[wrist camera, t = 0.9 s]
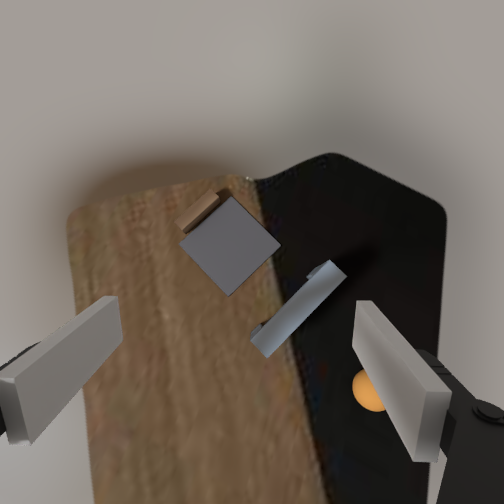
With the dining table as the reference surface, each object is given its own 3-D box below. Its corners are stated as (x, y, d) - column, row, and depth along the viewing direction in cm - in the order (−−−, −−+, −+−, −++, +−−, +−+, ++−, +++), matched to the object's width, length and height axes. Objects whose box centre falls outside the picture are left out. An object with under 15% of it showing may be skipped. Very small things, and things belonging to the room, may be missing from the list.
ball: (391, 384, 42) (411, 396, 37) (367, 411, 42) (383, 427, 36) (364, 356, 43) (379, 364, 38) (339, 383, 42) (352, 395, 37)
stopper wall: (220, 202, 48) (218, 196, 45) (185, 234, 47) (182, 230, 44) (212, 194, 48) (210, 188, 45) (177, 225, 47) (173, 221, 44)
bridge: (328, 281, 45) (346, 276, 36) (264, 346, 43) (267, 358, 34) (314, 268, 45) (329, 259, 36) (250, 332, 44) (250, 340, 35)
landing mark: (280, 245, 46) (281, 245, 46) (228, 296, 45) (228, 296, 45) (231, 196, 48) (231, 196, 48) (178, 244, 46) (178, 244, 46)
